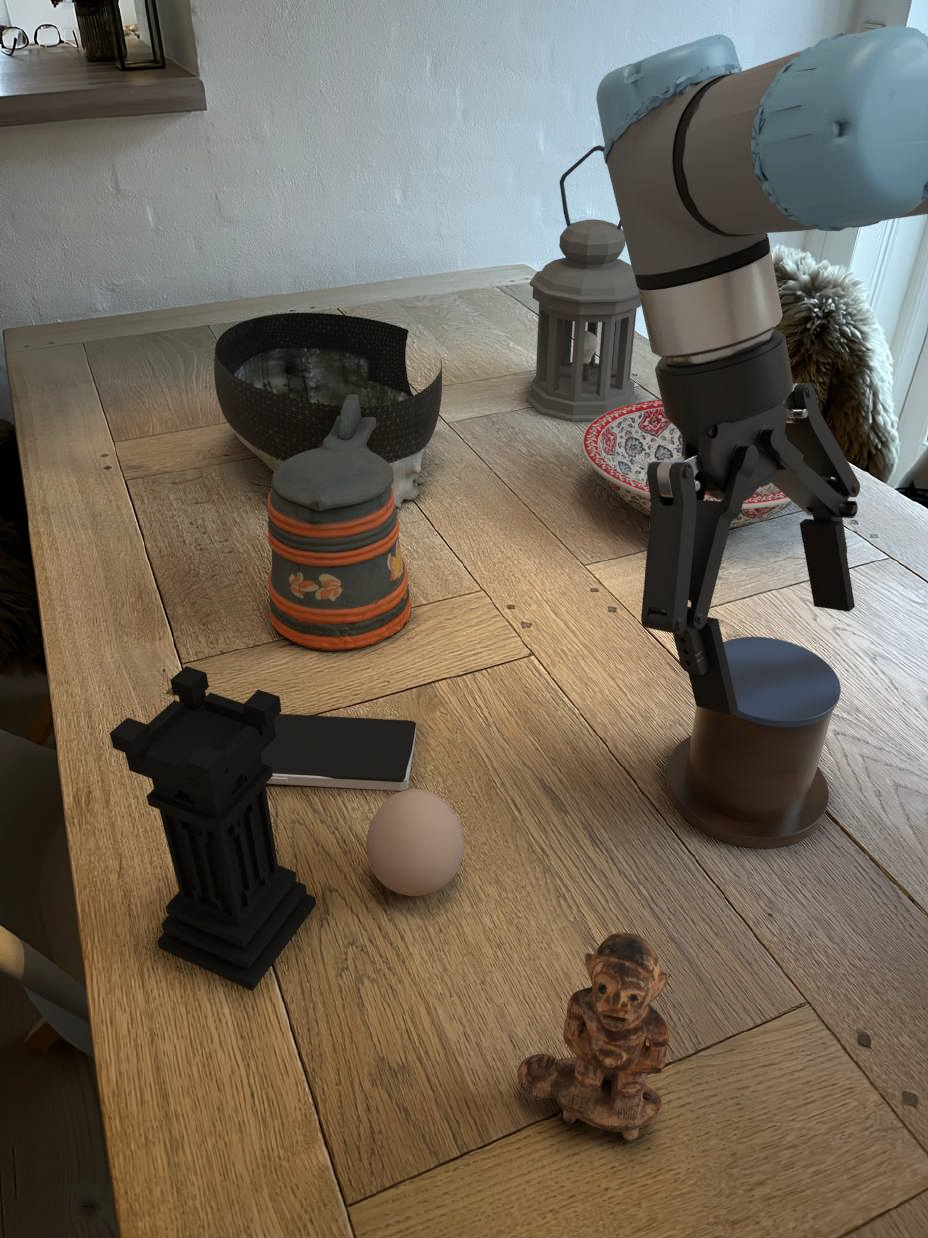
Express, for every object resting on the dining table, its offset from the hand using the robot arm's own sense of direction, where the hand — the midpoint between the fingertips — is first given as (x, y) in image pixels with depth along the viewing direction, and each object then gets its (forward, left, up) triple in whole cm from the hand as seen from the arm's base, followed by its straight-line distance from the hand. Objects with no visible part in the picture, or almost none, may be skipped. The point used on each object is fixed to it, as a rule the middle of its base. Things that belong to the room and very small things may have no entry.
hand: (778, 655), depth 67 cm
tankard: (+48, +10, -19) cm, 53 cm away
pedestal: (+5, -6, -19) cm, 21 cm away
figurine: (-10, +22, -19) cm, 31 cm away
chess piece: (+14, +35, -19) cm, 43 cm away
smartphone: (+27, +22, -19) cm, 40 cm away
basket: (+78, -3, -19) cm, 80 cm away
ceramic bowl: (+44, -36, -19) cm, 60 cm away
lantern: (+78, -44, -19) cm, 91 cm away
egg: (+11, +22, -19) cm, 31 cm away
